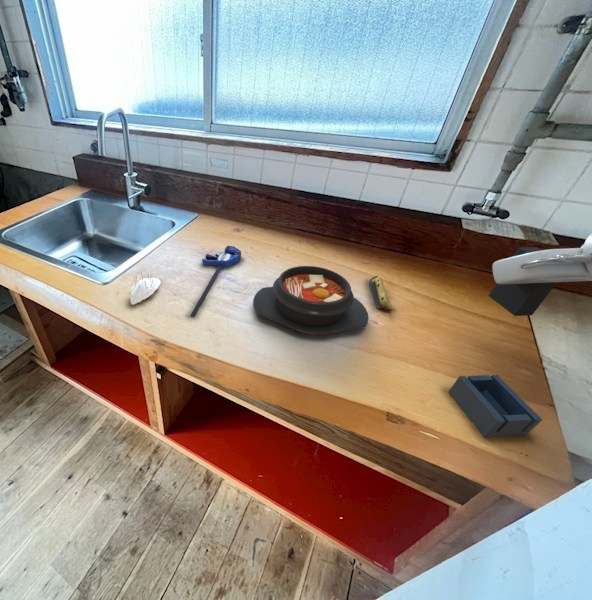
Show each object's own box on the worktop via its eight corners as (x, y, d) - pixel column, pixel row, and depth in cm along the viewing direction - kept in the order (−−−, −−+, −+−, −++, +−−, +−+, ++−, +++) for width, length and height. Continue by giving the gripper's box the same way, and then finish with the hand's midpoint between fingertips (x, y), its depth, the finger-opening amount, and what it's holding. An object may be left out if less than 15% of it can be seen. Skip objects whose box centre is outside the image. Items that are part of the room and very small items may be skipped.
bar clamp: (211, 242, 99) (243, 246, 96) (211, 249, 100) (243, 254, 97) (169, 306, 76) (209, 315, 73) (170, 314, 77) (209, 323, 74)
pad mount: (526, 435, 49) (543, 419, 47) (484, 437, 49) (498, 421, 47) (484, 390, 56) (497, 374, 53) (448, 391, 56) (459, 375, 53)
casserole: (248, 332, 70) (251, 301, 65) (256, 284, 84) (259, 256, 79) (373, 349, 64) (387, 317, 59) (358, 296, 79) (369, 266, 74)
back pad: (532, 315, 55) (571, 264, 49) (514, 316, 55) (551, 265, 49) (504, 295, 60) (536, 246, 54) (488, 295, 60) (518, 247, 54)
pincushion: (148, 278, 88) (146, 260, 85) (167, 283, 86) (166, 265, 83) (122, 302, 80) (118, 283, 77) (143, 308, 78) (140, 289, 74)
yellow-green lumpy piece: (371, 284, 85) (383, 279, 83) (379, 317, 74) (393, 312, 73) (365, 275, 84) (377, 270, 82) (372, 307, 73) (386, 301, 72)
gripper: (555, 282, 41) (465, 298, 54) (719, 275, 40) (587, 293, 54) (545, 234, 42) (459, 262, 55) (706, 228, 41) (579, 257, 55)
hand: (523, 277), depth 55 cm, fingers closed on back pad, 3 cm apart
